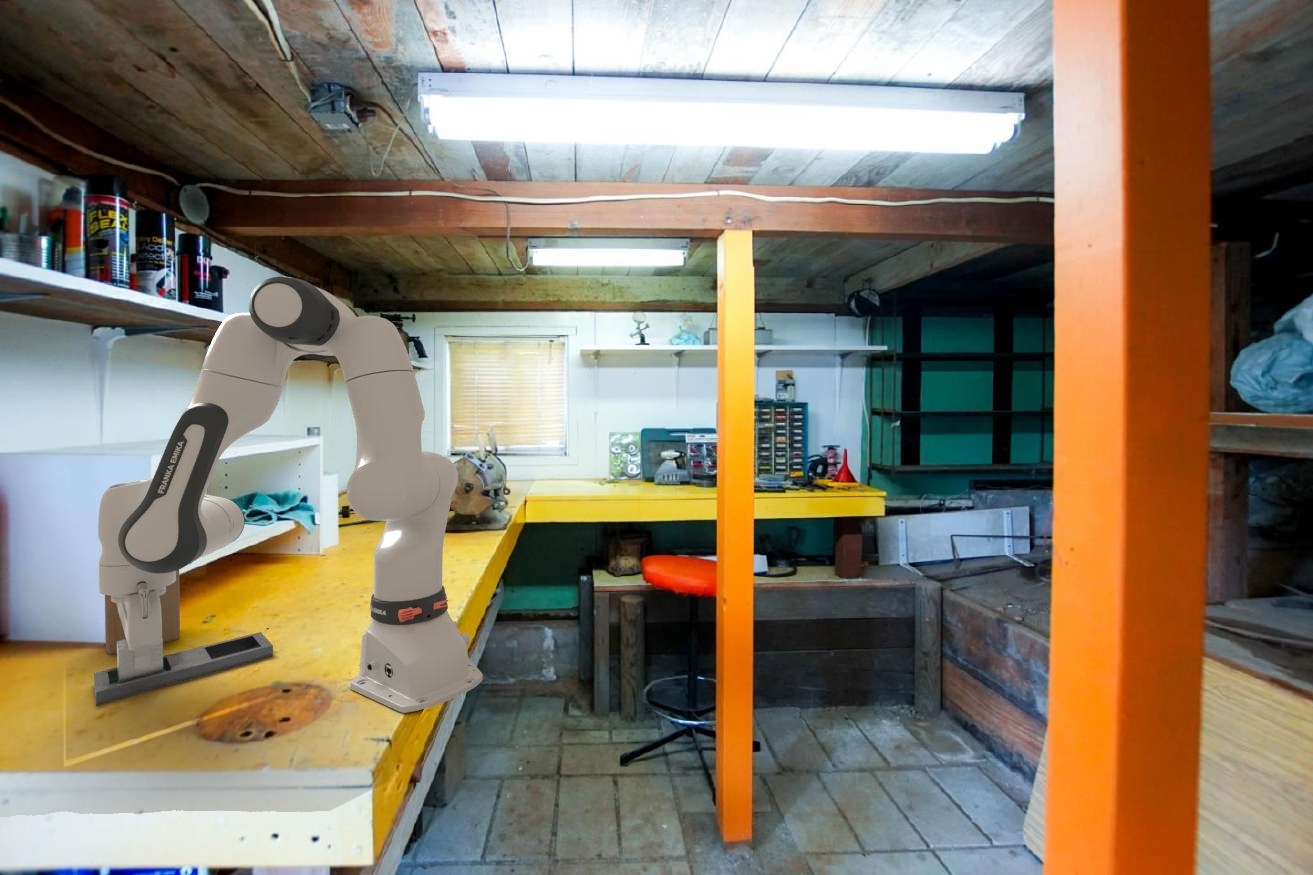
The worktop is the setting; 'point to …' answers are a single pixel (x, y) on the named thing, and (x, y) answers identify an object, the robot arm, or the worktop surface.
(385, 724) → the worktop surface
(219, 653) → the gray slotted tray
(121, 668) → the white upright block
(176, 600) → the wooden block
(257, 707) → the worktop surface
